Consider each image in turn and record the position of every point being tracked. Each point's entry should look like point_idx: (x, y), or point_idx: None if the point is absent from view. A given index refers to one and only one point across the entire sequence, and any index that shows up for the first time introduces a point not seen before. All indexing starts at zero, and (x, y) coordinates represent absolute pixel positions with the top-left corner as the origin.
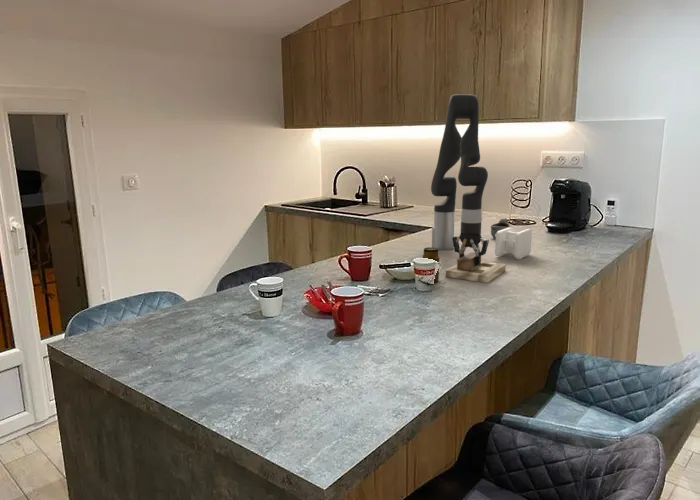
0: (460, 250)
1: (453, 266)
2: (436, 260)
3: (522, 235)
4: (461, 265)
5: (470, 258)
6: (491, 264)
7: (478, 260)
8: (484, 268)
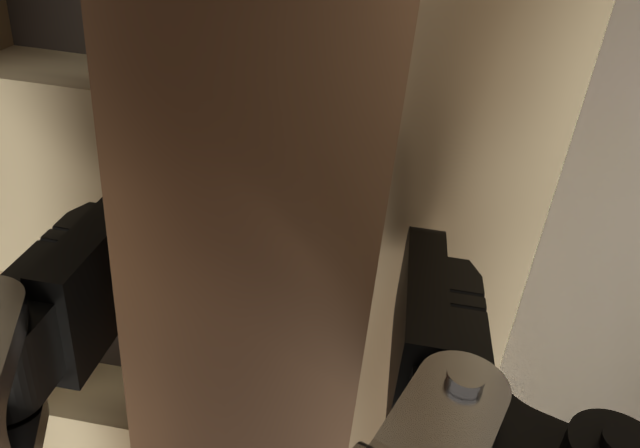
0: (464, 438)
1: (567, 116)
2: None
3: None
4: None
5: (119, 139)
6: (68, 416)
7: (44, 246)
8: (25, 185)
